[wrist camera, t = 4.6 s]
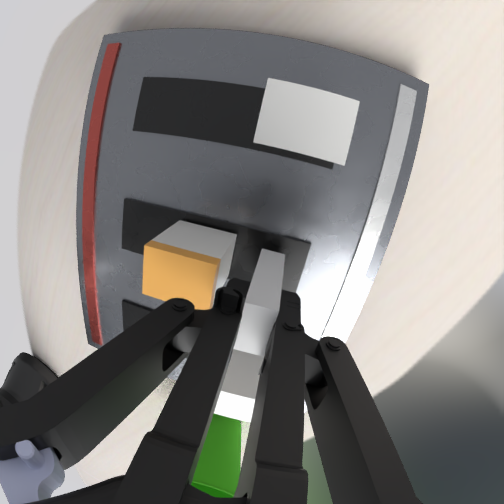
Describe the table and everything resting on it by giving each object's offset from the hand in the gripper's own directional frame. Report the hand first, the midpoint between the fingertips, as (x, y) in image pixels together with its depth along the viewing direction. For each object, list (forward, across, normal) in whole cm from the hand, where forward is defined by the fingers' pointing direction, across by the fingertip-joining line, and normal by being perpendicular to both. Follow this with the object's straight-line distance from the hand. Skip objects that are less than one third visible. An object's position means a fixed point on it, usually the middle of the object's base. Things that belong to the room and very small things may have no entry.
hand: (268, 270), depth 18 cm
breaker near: (+1, 0, +9) cm, 9 cm away
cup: (+4, 0, -23) cm, 23 cm away
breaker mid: (+1, -5, 0) cm, 5 cm away
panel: (+3, -4, 0) cm, 6 cm away
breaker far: (+1, 0, -9) cm, 9 cm away
